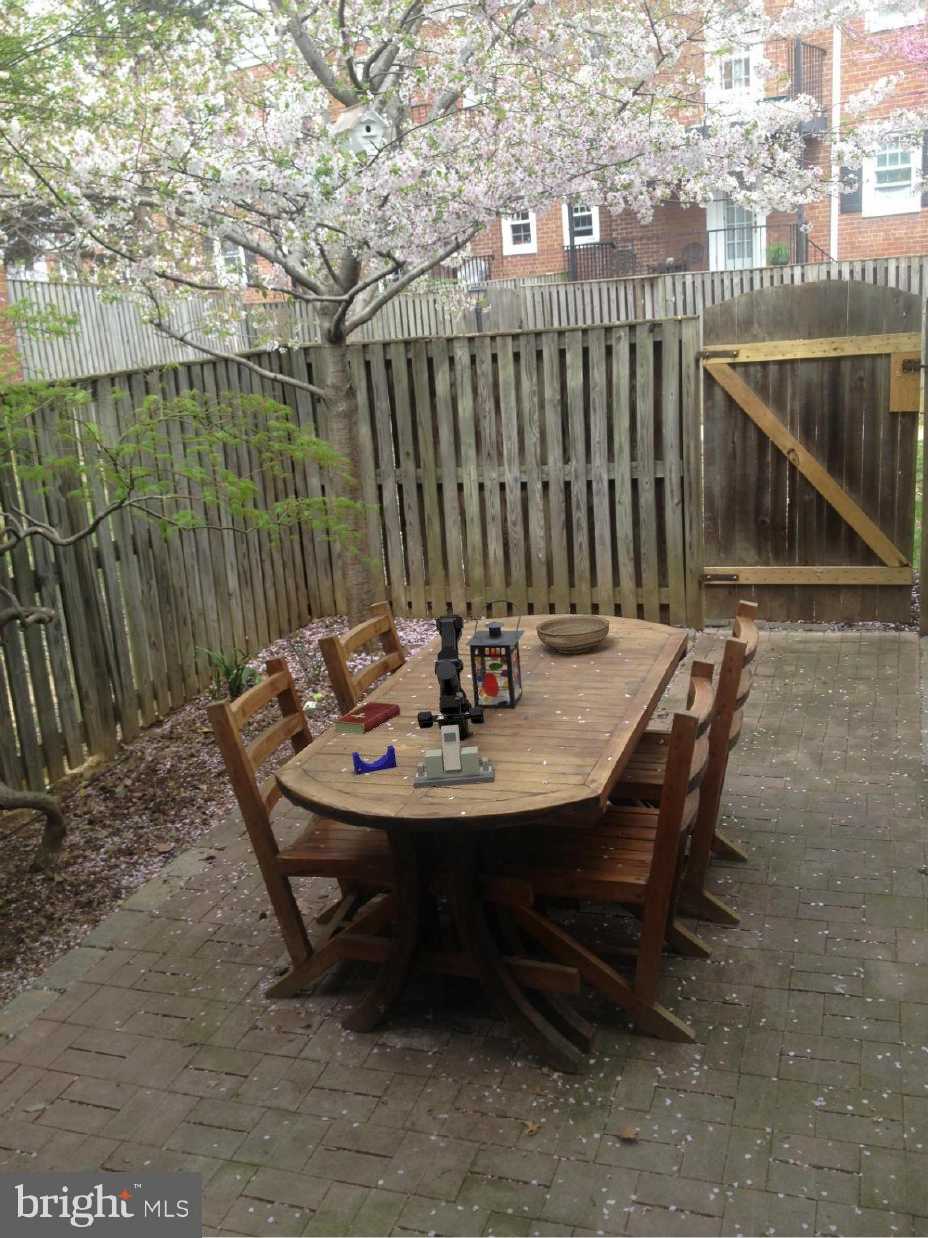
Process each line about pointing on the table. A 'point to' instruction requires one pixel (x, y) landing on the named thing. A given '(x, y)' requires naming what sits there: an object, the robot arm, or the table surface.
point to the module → (451, 747)
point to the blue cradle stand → (375, 762)
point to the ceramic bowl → (573, 633)
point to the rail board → (465, 775)
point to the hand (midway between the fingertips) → (452, 745)
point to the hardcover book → (367, 717)
